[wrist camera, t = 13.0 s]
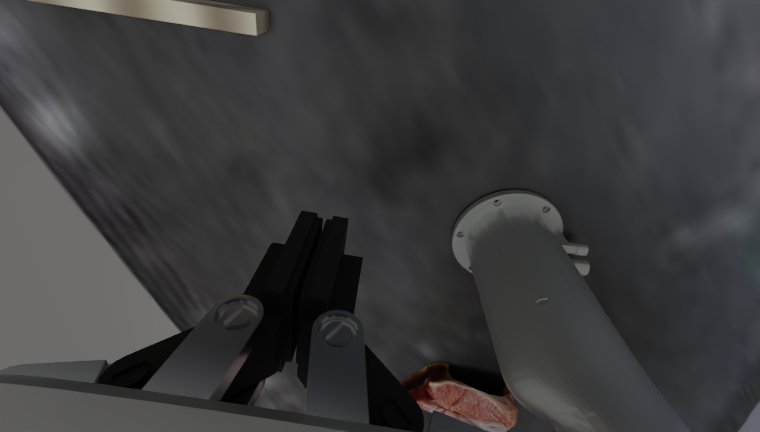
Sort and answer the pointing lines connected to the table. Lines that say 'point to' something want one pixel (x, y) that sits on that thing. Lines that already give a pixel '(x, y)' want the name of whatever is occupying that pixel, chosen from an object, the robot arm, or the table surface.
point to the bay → (182, 13)
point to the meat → (461, 399)
